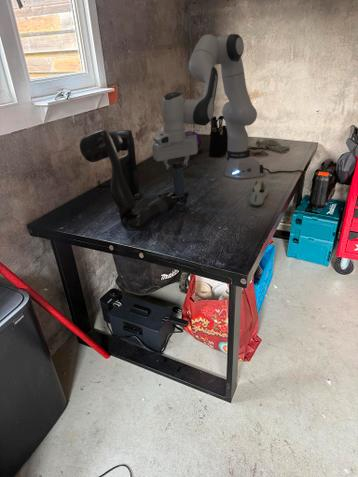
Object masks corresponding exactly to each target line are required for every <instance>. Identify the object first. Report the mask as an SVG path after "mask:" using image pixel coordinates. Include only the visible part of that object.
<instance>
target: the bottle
mask: <svg viewBox="0 0 358 477" xmlns="http://www.w3.org/2000/svg"><path fill="white" fill-rule="evenodd" d="M184 176H185V175H184V171H183V169H182V168H180V169H175V168H174V170H173V189H174V191H173V192H175V196H178V195H179V196H181V195H183V194H184V193H185V179H184ZM181 199H182V197H181ZM174 208H175V210H176V211H179V212H181V211H184V210H186V204H185V205H184V206H181V205H179V204H178V205H177V206H174Z"/></svg>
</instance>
